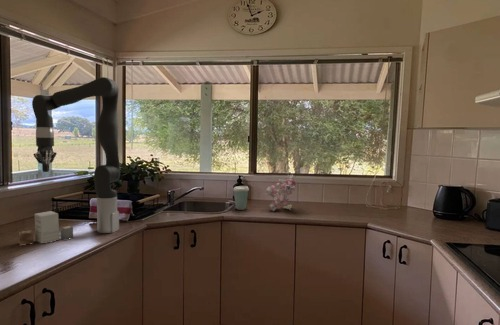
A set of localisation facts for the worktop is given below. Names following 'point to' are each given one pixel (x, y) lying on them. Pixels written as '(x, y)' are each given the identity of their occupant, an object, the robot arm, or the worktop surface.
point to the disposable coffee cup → (241, 196)
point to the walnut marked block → (26, 237)
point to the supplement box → (46, 227)
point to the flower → (285, 187)
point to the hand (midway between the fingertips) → (45, 171)
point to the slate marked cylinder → (66, 232)
